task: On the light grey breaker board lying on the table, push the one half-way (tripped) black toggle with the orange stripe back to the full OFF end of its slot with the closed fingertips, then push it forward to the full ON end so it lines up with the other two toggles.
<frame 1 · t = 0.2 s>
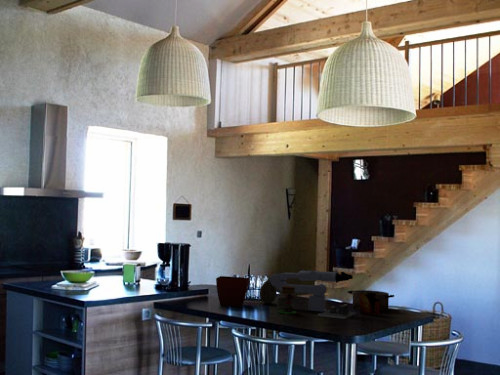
hand: (350, 277, 378), 21 cm above the table, tool horizontal, fingers open, 7 cm apart
decorative egg: (267, 303, 408), on the table
tripped breaker: (333, 310, 364), point 4 cm above the table, slide at 3.0 cm
plant pot: (232, 305, 394), on the table
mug: (370, 314, 380), on the table
breaker B: (345, 308, 375), point 4 cm above the table, slide at 6.0 cm
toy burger: (287, 312, 372), on the table
breaker panel: (337, 315, 370), on the table
breaker A: (341, 309, 369), point 3 cm above the table, slide at 6.0 cm
cooking pot: (370, 309, 402), on the table
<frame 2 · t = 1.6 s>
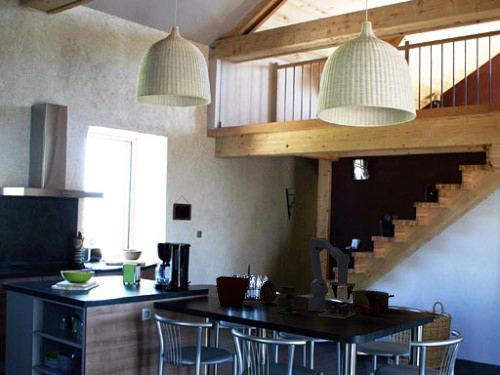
hand: (341, 298, 367), 10 cm above the table, tool pointing down, fingers open, 7 cm apart
nothing on the table moved.
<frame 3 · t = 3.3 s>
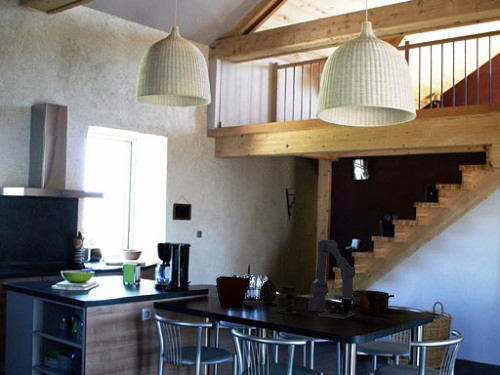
hand: (346, 312, 361), 3 cm above the table, tool pointing down, fingers closed
nothing on the table moved.
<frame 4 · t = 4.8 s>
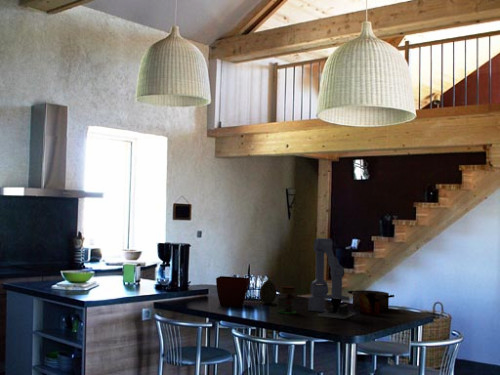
hand: (335, 312, 363), 3 cm above the table, tool pointing down, fingers closed
tripped breaker: (331, 310, 364), point 3 cm above the table, slide at 2.0 cm, touching gripper
everything else where it was.
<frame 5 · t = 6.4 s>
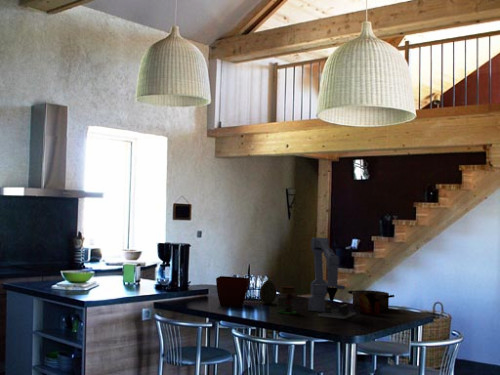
hand: (331, 301, 365), 9 cm above the table, tool pointing down, fingers closed
tripped breaker: (327, 309, 365), point 4 cm above the table, slide at 0.0 cm
everything else where it was.
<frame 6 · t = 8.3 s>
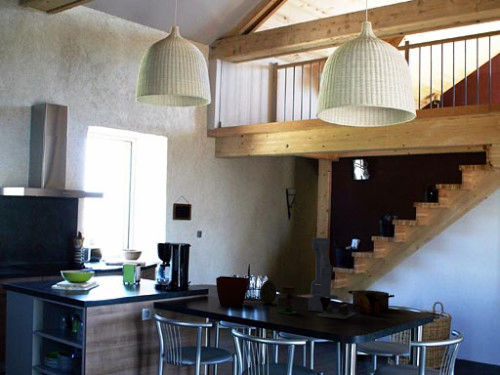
hand: (324, 310, 366), 3 cm above the table, tool pointing down, fingers closed
tripped breaker: (329, 310, 365), point 3 cm above the table, slide at 0.9 cm, touching gripper
everything else where it was.
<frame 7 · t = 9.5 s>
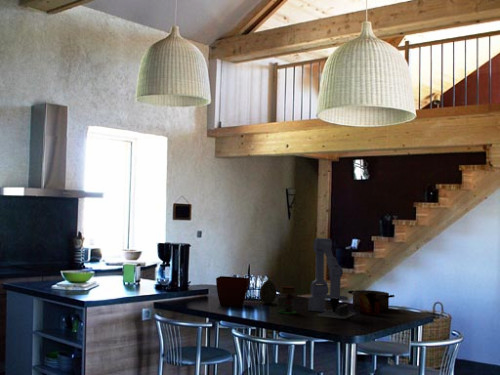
hand: (334, 311, 364), 3 cm above the table, tool pointing down, fingers closed
tripped breaker: (338, 310, 363), point 4 cm above the table, slide at 6.2 cm, touching gripper
everything else where it was.
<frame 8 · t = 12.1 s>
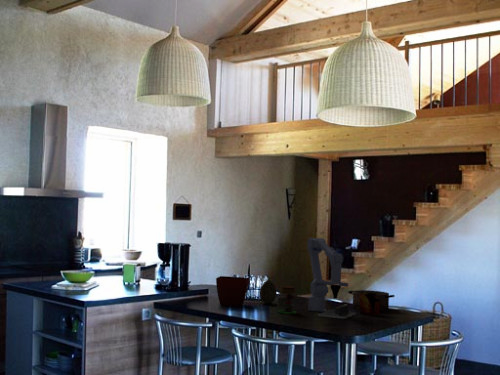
hand: (335, 298, 369), 10 cm above the table, tool pointing down, fingers closed
tripped breaker: (338, 310, 363), point 3 cm above the table, slide at 6.0 cm
everything else where it was.
at the end: tripped breaker slide at 6.0 cm; breaker A slide at 6.0 cm; breaker B slide at 6.0 cm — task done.
